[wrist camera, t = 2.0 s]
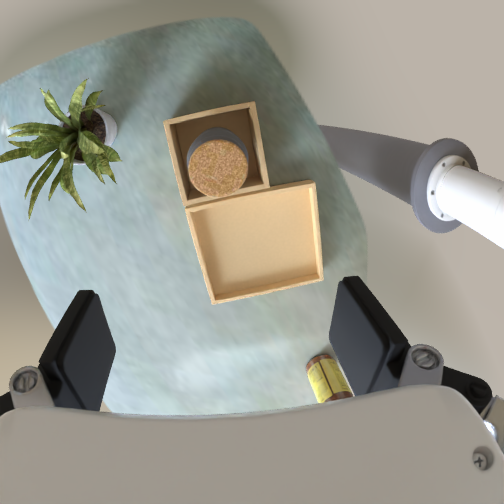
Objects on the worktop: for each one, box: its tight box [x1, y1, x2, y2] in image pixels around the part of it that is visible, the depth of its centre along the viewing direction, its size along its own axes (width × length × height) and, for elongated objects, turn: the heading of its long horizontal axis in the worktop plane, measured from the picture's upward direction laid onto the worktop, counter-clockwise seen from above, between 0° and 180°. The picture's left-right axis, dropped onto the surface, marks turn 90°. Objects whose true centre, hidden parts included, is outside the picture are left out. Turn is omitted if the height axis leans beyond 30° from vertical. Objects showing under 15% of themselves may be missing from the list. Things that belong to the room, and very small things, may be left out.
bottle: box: [187, 127, 249, 197], centre depth 29 cm, size 6×6×15 cm
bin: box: [163, 101, 270, 206], centre depth 34 cm, size 10×10×5 cm
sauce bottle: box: [306, 355, 353, 403], centre depth 47 cm, size 6×6×20 cm
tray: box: [185, 180, 324, 305], centre depth 42 cm, size 17×15×2 cm
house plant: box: [0, 79, 122, 219], centre depth 26 cm, size 14×14×16 cm
